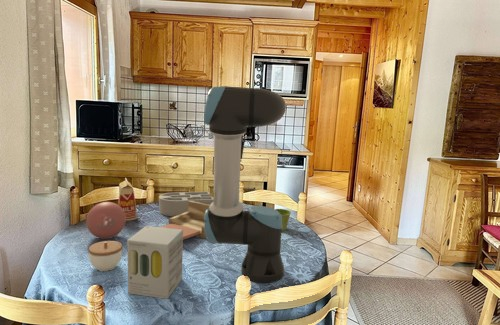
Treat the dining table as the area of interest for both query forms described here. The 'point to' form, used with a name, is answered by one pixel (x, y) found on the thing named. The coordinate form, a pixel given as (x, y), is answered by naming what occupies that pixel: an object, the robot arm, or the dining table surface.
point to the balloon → (106, 220)
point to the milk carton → (127, 200)
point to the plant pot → (284, 217)
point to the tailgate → (184, 230)
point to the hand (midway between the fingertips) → (235, 175)
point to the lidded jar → (105, 255)
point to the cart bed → (192, 217)
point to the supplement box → (155, 261)
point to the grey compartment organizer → (181, 201)
